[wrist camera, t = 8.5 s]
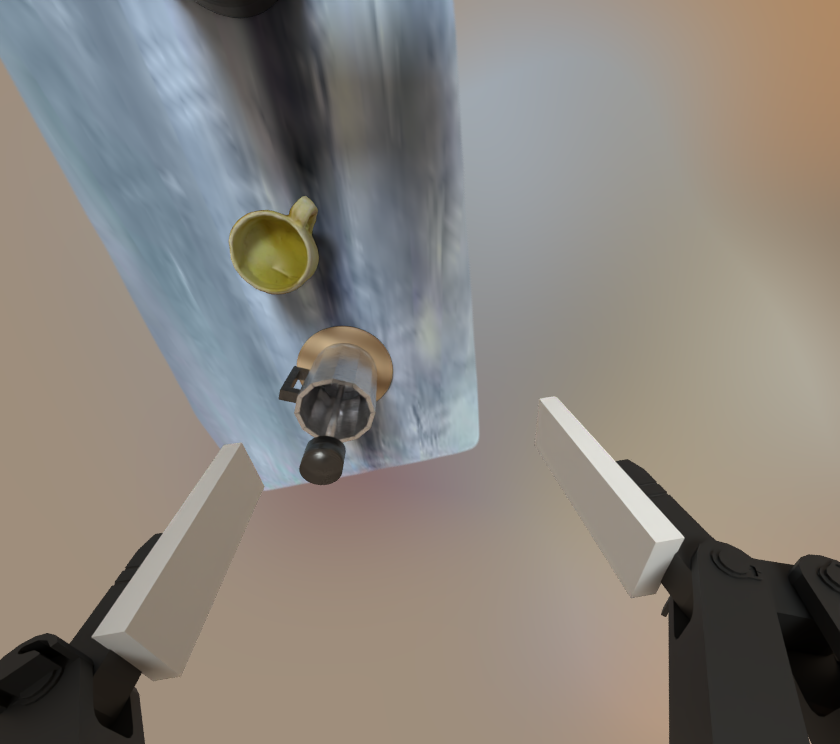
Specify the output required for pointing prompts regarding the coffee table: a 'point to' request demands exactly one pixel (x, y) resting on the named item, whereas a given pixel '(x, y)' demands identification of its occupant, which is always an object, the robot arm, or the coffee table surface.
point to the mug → (276, 248)
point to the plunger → (327, 443)
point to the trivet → (352, 337)
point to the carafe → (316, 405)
